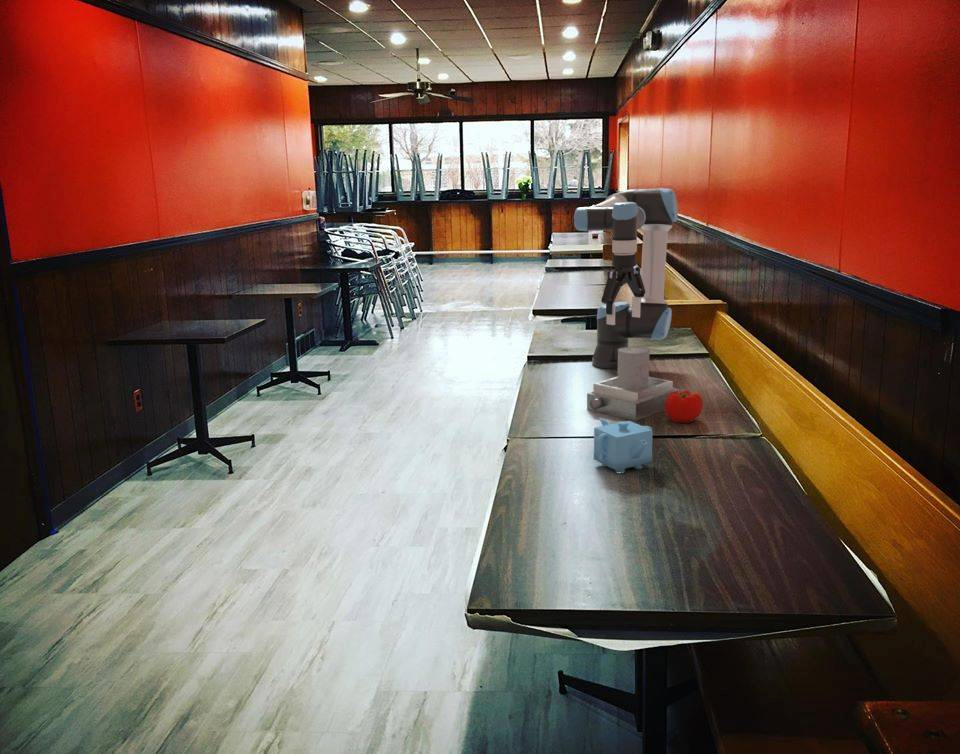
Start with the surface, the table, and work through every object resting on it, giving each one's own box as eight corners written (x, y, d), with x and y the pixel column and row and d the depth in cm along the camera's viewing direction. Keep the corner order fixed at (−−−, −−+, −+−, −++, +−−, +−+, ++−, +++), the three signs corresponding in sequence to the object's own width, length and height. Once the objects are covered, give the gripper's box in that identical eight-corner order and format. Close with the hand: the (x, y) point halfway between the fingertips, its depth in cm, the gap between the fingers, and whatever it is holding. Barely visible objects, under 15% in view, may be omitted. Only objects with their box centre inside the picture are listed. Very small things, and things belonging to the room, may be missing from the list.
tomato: (708, 419, 230) (709, 390, 228) (689, 428, 223) (690, 399, 221) (675, 413, 237) (676, 385, 235) (656, 421, 230) (657, 392, 228)
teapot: (618, 483, 185) (618, 437, 183) (574, 460, 201) (574, 417, 198) (671, 470, 192) (672, 425, 189) (625, 449, 208) (626, 407, 205)
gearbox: (630, 394, 259) (630, 371, 257) (677, 404, 246) (678, 380, 244) (580, 411, 242) (580, 386, 240) (629, 423, 229) (629, 397, 227)
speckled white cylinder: (647, 385, 248) (648, 346, 245) (650, 393, 238) (651, 353, 235) (616, 385, 249) (616, 346, 246) (618, 393, 239) (618, 353, 236)
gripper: (637, 248, 257) (636, 312, 263) (589, 257, 240) (589, 326, 246) (657, 249, 252) (655, 315, 258) (610, 259, 235) (609, 329, 241)
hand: (623, 320), depth 252 cm, fingers open, 13 cm apart
